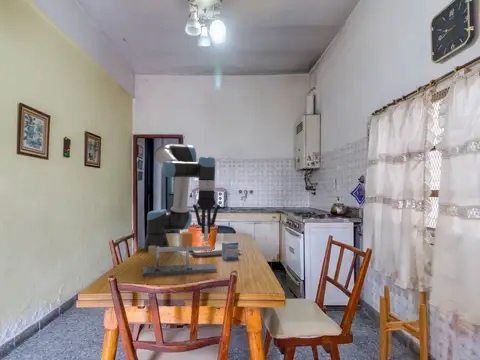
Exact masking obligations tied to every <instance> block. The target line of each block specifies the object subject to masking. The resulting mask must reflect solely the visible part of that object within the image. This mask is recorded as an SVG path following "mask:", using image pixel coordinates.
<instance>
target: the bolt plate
mask: <svg viewBox="0 0 480 360" xmlns="http://www.w3.org/2000/svg"><path fill="white" fill-rule="evenodd" d="M217 269H218V268H217V267H216V266H215V264H214V263H212V262H211V263H195V264H190V263H189V266H188V267H186V264H175V265H159V268H158V269H157V268H156V265H155V266H153V265H152V266H144V267H143V271H142V273H143V274H142V277H156V276H159V277H160V276H172V275H173V276H174V275H176V276H177V275H187V274H188V275H189V274H191V273H192V274H205V273H218V272H217Z"/></svg>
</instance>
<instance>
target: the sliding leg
mask: <svg viewBox="0 0 480 360" xmlns="http://www.w3.org/2000/svg"><path fill="white" fill-rule="evenodd" d="M181 234H182V236H181V237H182V238H181V243H182V244H181V245H182V246H183V247H186V251H185V252H186V253H185V261H186V262H185V265H186V267H188V266H189V265H190V251H189V247H192V243H193V232H192V231H182V233H181Z"/></svg>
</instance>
